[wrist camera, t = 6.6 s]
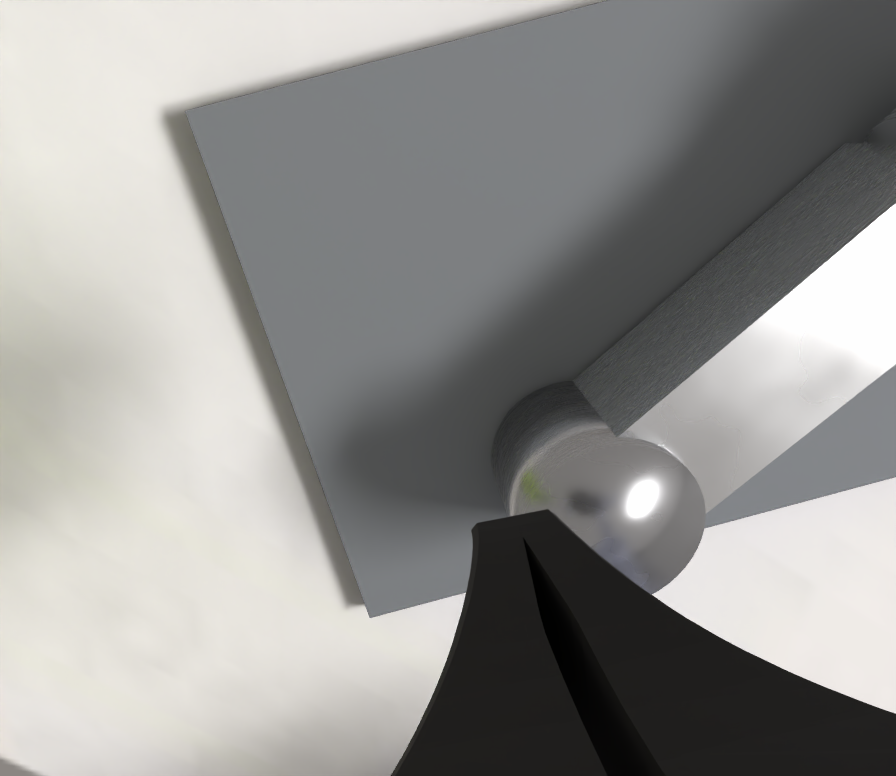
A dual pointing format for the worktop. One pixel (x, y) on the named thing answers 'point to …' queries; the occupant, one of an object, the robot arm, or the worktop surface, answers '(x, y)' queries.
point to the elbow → (718, 373)
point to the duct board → (526, 240)
